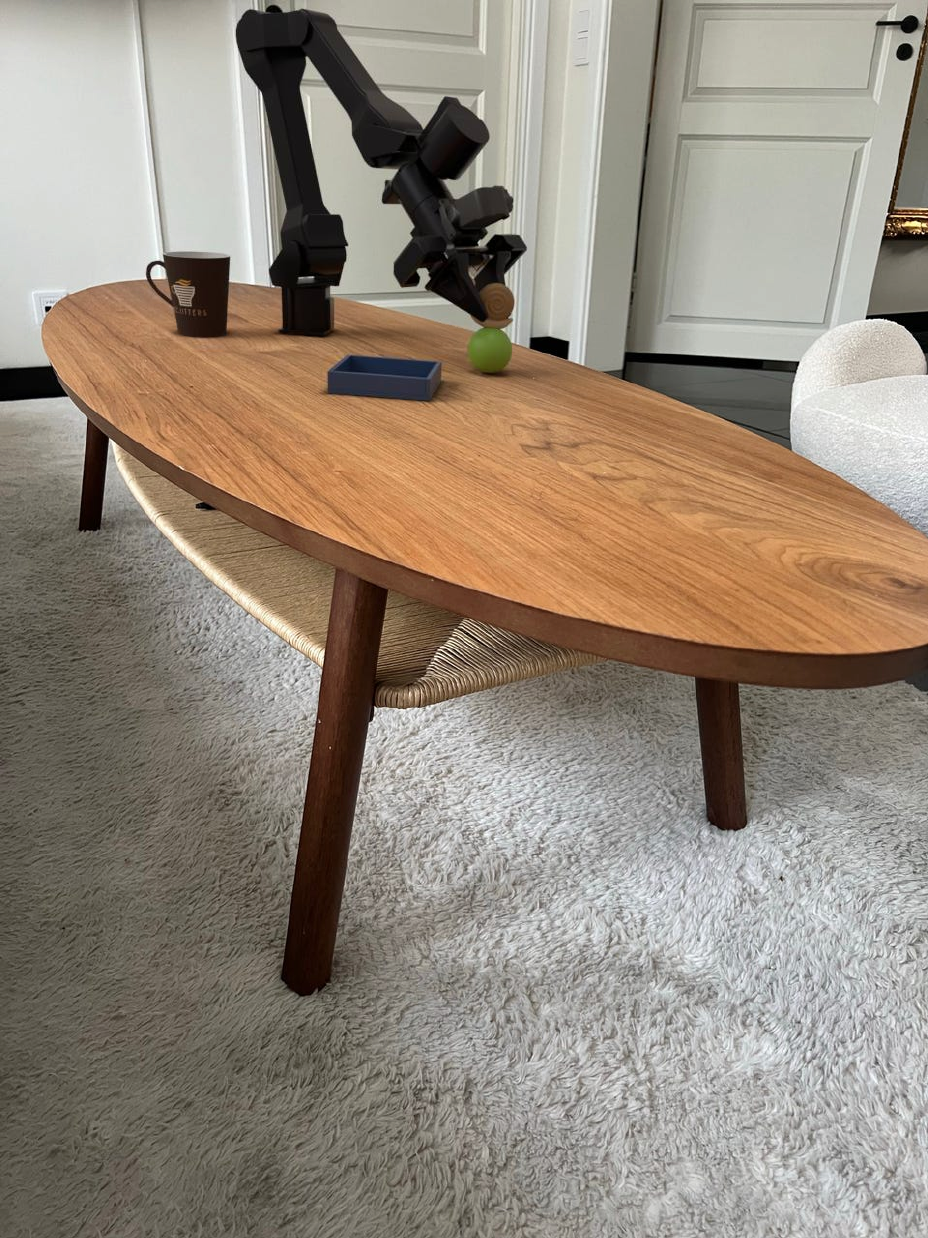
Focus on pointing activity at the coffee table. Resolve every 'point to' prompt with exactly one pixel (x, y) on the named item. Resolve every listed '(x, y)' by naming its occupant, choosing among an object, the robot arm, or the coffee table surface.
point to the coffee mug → (196, 291)
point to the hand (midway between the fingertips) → (497, 318)
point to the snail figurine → (492, 330)
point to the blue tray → (385, 377)
